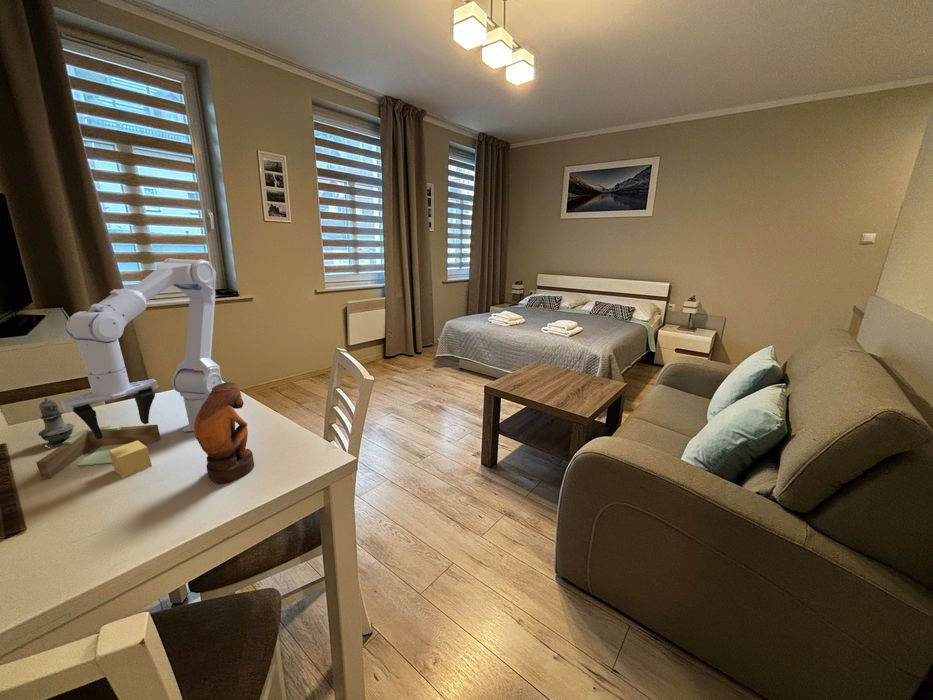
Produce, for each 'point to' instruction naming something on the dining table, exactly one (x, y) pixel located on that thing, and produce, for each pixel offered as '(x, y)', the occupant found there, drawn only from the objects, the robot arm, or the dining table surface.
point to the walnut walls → (93, 445)
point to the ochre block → (130, 458)
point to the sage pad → (100, 456)
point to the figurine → (223, 434)
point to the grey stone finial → (54, 424)
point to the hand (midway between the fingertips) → (122, 429)
